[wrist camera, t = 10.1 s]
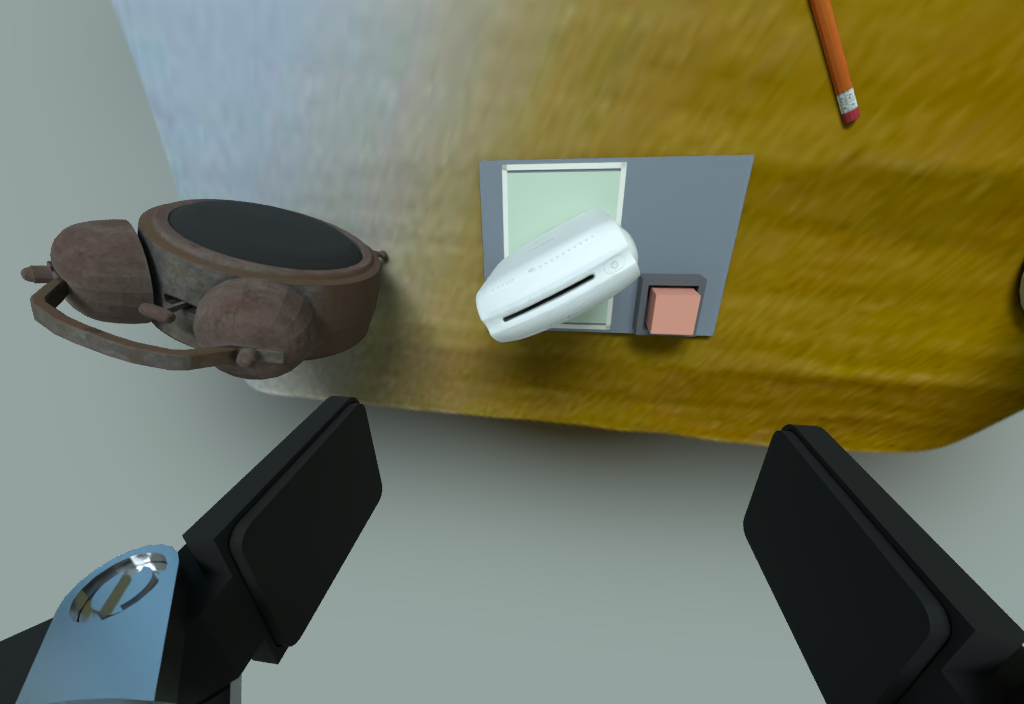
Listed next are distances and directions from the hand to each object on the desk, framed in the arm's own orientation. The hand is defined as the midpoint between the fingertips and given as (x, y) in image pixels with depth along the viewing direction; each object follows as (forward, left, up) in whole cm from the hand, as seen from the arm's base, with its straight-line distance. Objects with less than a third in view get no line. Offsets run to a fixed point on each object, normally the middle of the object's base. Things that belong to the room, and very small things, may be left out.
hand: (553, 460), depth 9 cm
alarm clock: (+21, 0, -26) cm, 33 cm away
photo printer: (0, 0, -25) cm, 25 cm away
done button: (-9, +4, -24) cm, 26 cm away
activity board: (-3, 0, -26) cm, 26 cm away
